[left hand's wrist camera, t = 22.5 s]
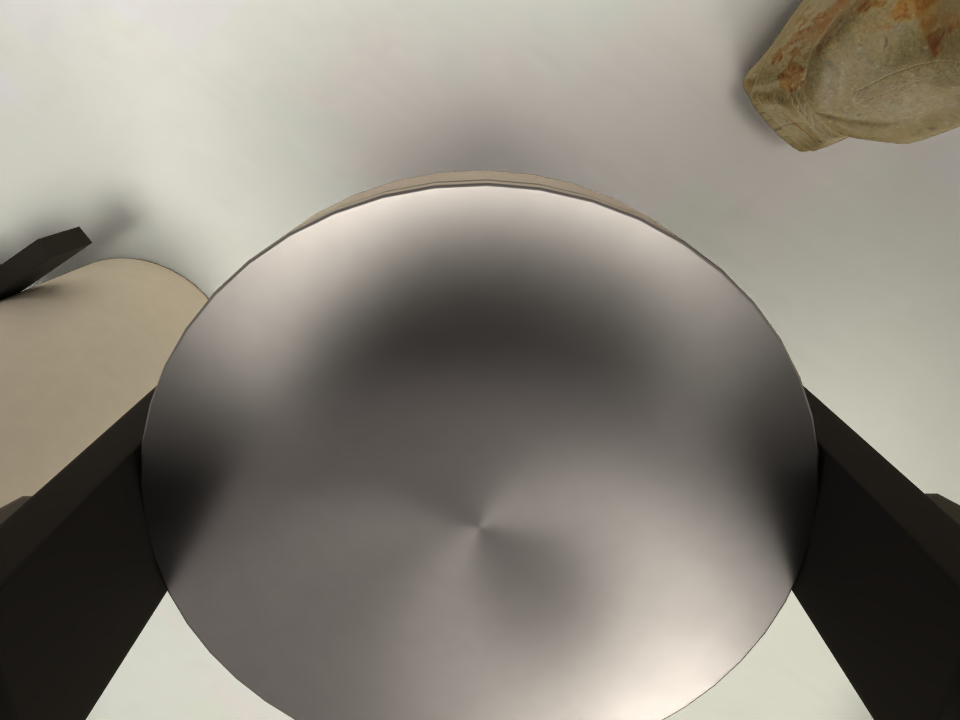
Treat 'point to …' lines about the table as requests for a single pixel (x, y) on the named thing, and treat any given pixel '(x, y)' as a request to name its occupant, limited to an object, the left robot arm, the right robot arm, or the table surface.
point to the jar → (81, 361)
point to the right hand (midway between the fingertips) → (153, 347)
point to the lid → (479, 461)
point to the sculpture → (861, 72)
